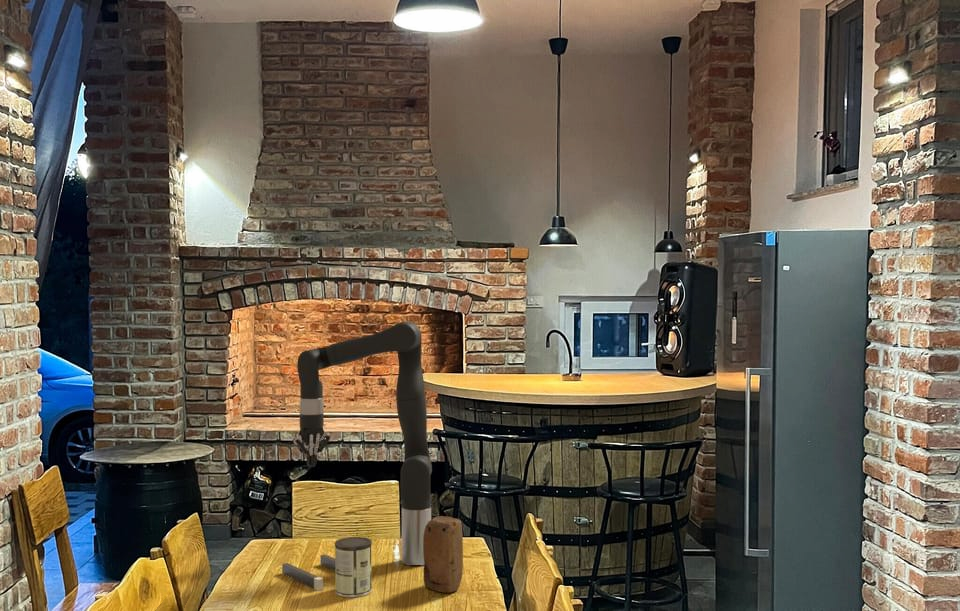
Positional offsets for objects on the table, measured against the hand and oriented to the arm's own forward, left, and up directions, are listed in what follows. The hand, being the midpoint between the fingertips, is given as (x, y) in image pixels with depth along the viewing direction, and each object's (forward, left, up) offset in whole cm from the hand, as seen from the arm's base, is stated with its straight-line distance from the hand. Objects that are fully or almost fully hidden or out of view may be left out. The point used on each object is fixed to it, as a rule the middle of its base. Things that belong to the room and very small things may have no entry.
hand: (311, 466), depth 278 cm
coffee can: (+8, +36, -29) cm, 47 cm away
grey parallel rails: (+8, +19, -29) cm, 35 cm away
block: (-12, +51, -29) cm, 60 cm away
